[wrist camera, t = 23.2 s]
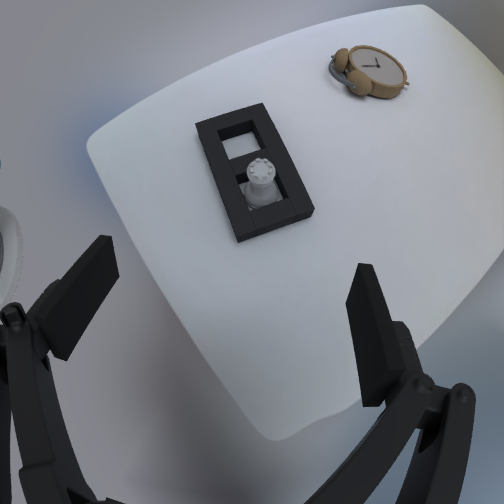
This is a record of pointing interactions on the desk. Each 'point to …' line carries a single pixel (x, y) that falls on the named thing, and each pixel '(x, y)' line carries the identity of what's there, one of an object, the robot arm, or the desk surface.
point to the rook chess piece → (260, 184)
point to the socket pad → (235, 173)
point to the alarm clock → (369, 71)
